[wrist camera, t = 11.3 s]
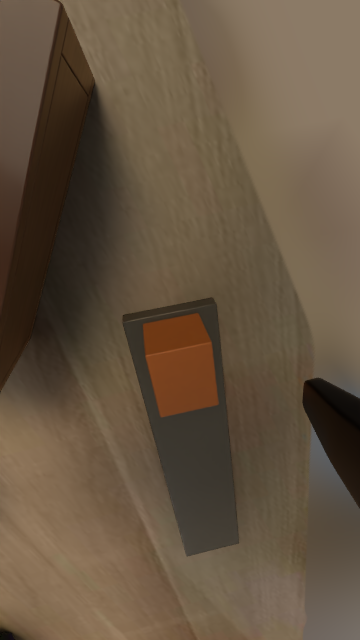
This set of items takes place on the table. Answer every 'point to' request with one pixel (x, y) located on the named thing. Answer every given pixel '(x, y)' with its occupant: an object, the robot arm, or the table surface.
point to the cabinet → (34, 154)
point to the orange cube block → (180, 364)
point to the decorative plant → (6, 636)
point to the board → (192, 441)
